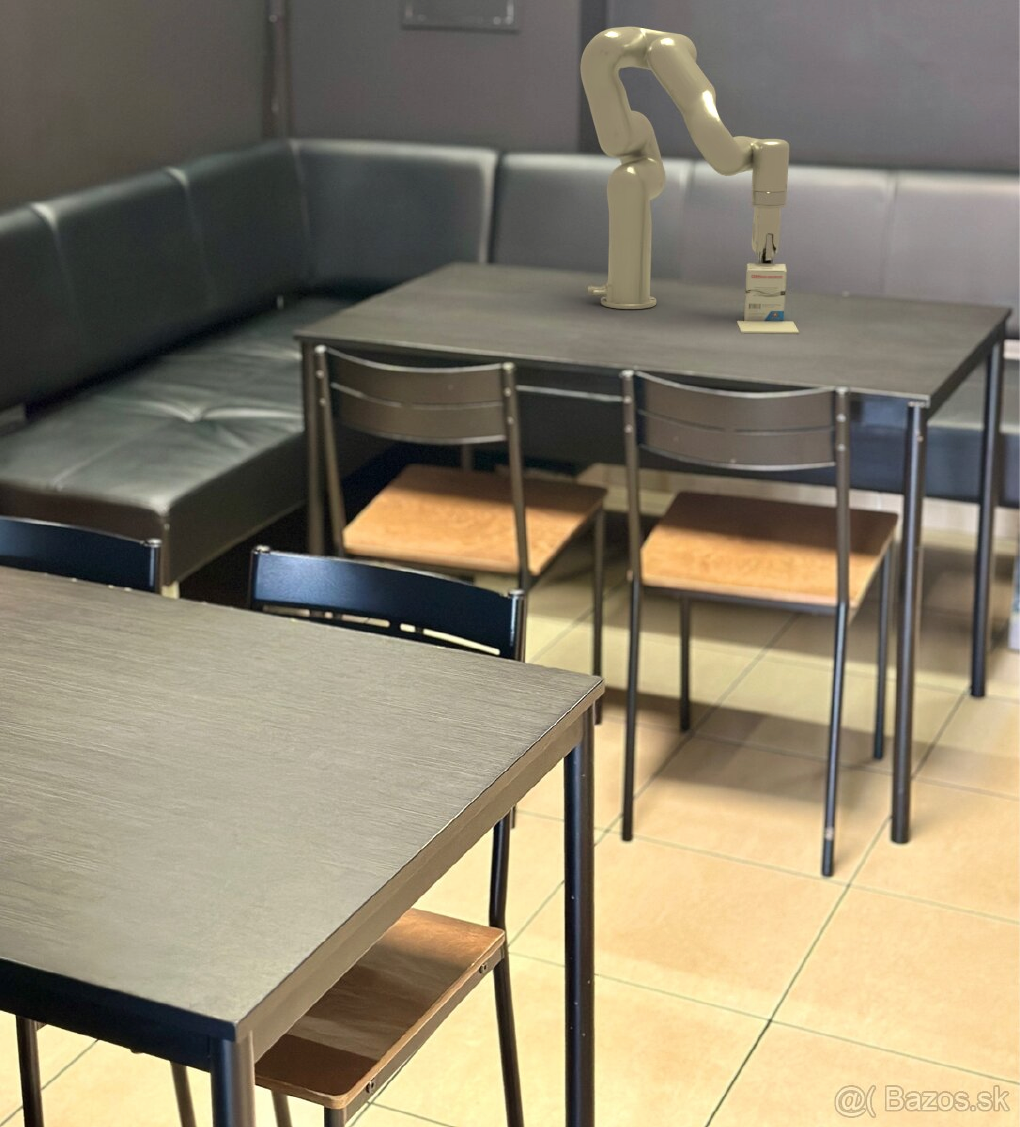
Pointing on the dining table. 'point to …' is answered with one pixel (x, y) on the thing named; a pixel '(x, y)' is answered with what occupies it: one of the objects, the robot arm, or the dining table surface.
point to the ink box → (765, 292)
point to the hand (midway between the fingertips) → (764, 283)
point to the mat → (767, 327)
